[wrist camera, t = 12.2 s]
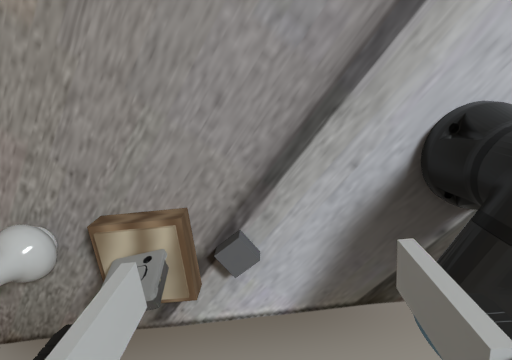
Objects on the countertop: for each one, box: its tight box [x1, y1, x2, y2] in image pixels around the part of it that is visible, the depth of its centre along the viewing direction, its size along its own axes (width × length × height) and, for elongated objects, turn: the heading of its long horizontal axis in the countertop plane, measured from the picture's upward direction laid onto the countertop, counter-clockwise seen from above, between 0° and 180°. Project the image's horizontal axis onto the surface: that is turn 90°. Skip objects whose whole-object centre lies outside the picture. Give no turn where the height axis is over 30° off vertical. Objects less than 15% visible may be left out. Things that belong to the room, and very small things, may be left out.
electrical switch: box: [100, 249, 169, 311], centre depth 44 cm, size 8×5×8 cm, turn 104°
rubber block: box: [214, 230, 260, 278], centre depth 50 cm, size 5×5×3 cm
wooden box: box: [87, 208, 202, 303], centre depth 49 cm, size 14×14×5 cm
